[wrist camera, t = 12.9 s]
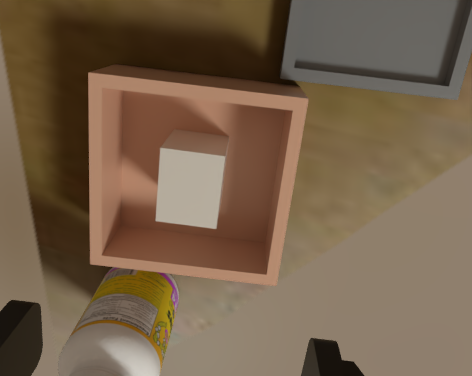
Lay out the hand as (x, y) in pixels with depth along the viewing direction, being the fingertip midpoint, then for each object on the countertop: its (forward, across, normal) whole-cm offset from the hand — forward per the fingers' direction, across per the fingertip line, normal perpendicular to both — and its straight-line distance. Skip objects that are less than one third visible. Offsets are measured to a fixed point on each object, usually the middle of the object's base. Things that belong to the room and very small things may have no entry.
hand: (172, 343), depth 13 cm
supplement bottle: (+21, +5, +14) cm, 26 cm away
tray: (+21, -9, -12) cm, 26 cm away
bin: (+21, +2, +1) cm, 21 cm away
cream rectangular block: (+20, +2, +1) cm, 20 cm away
